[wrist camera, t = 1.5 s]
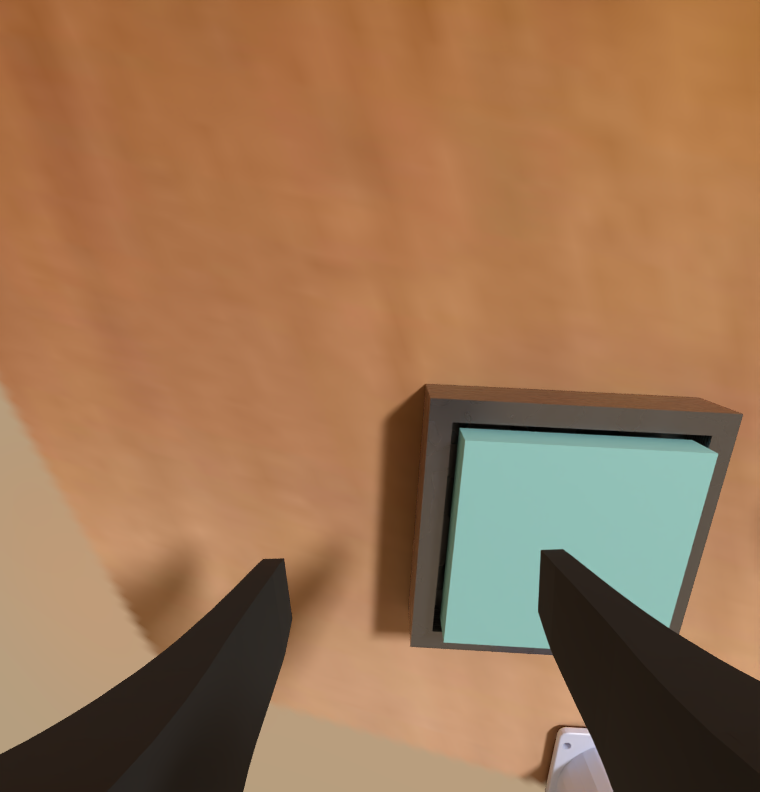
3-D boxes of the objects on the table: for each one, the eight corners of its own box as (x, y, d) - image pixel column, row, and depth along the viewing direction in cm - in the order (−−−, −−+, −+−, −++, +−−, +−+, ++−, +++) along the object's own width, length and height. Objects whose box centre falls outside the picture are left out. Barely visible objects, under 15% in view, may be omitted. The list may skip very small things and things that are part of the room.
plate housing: (641, 621, 23) (670, 661, 20) (408, 608, 23) (410, 646, 20) (699, 397, 19) (742, 414, 17) (425, 383, 20) (430, 397, 17)
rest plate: (642, 629, 20) (661, 655, 19) (440, 617, 21) (443, 642, 19) (691, 439, 18) (718, 453, 16) (459, 427, 18) (465, 440, 16)
